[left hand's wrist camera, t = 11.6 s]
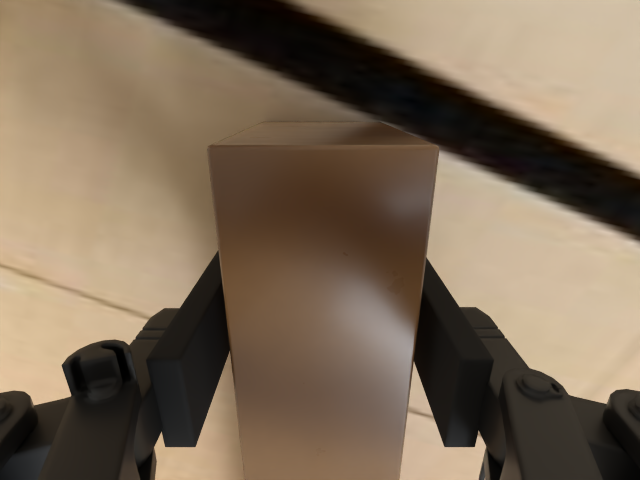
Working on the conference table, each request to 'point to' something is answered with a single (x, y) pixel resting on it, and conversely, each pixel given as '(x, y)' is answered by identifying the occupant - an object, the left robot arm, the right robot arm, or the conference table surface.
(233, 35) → the conference table surface
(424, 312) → the left robot arm
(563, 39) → the conference table surface
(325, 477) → the bar
